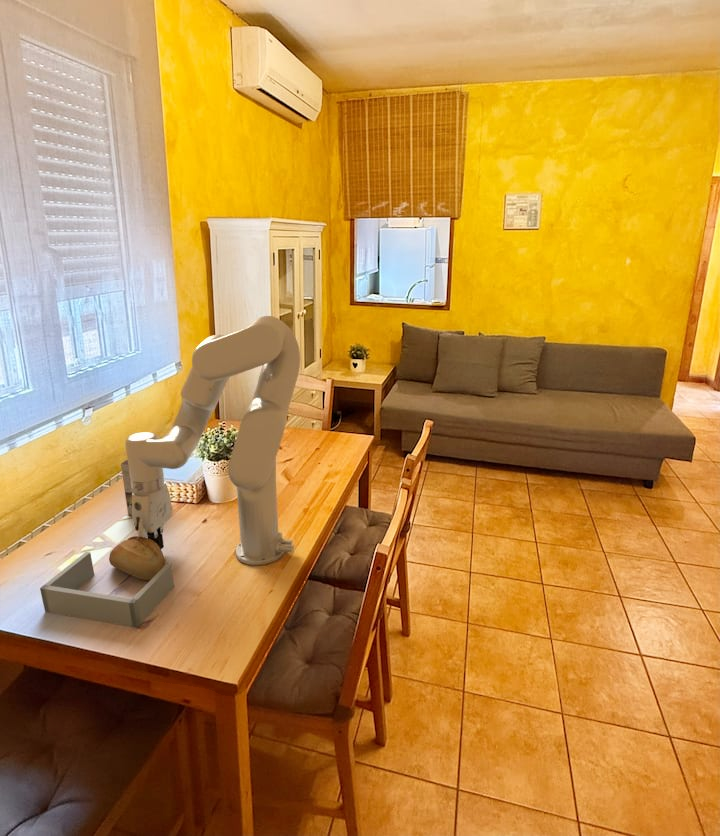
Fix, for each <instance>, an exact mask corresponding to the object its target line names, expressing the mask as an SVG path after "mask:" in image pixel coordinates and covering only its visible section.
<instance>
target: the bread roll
mask: <svg viewBox="0 0 720 836" xmlns="http://www.w3.org/2000/svg"><path fill="white" fill-rule="evenodd" d="M108 562H109V563H110V565H111V566H112V567H113V568H115V569H117V570H119V571H122V572H124V573H126V574H129V575H130V576H132V577H134V578H137V579H139V580H143V581H150V580H151V579H152V578H153V577H154V576H155V575H156V574H157V573H158V572H159V571H160V570H161V569H162V568H163V567H164V566H165V565H166V560H165V556H164V553H163V551H162V549H160V547H159V546H158V544H157V543H155V542H154V541H153V540H151V539H149V538H148V537H145V538H139V537H138V535H135V536H131V537H128V538H127V539H125V540H123V541H120V542H119V544H117V545H116V546H114V547H113V549H112V550H111V551H110V553H109V557H108Z"/></svg>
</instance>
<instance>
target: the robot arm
mask: <svg viewBox="0 0 720 836" xmlns="http://www.w3.org/2000/svg"><path fill="white" fill-rule="evenodd" d="M191 365H192V366H191V368H190V371H189V372H188V375H187V377H186V379H185V381H184V384H183V386H182V388H181V390H180V396H181V404H180V408H179V410H178V413H177V414H176V418H175V419H174V421H173V423H172V426H171V428H170V430H169V431H168V432H167V433H166V434H165V436H163V437H162V438H159V436H158V435H157V434H156V433H154V432H151V431H143V432H142V431H141V432H136V433H133V434H131V435H129V436H128V437H127V438H125V439H126V440H125V450H126V458H127V459H126V460H128V466H129V473H130V480H131V487H132V492H133V493H132V515H131V516H132V522H133V528H134V530H135V531H137V532H138V533H137V534H138V535H137V536H138V537H139V538H145V537H146V538H149V539H151V540H153V541H154V542H155V543H157V544H158V546H159V547H160V549H161V550H162V549H163V548H164V547H165V546H164V544H165V543H164V538H163V533H164V525H165V523H167V521H168V520H170V519H171V517H172V516H173V505H172V500H171V495H170V490H169V487H168V485H167V483H166V481H165V475H164V469H169V470H175V469H176V470H177V469H180V468H182V467H184V466H186V463H188V461H189V459H190V458H191V457H192V454H193V453H194V451H195V449H196V448H197V447H198V445H199V442H200V440H201V438H202V436H203V434H204V432H205V431H206V430H205V429H206V428H207V426H208V422H209V421H210V419H211V416H212V414H213V412H214V411H215V410H216V407H217V405H218V403H219V400H220V398H221V396H222V394H223V391H225V388H226V386H227V383H228V382H229V379H230V377H234V376H237V375H240V374H243V373H245V372H248V371H250V370H253V369H256V368H258V367H261V369H260V372H259V375H258V380H257V384H256V388H255V390H254V392H253V396H252V399H251V401H250V403H249V404H248V407H247V408H246V410H245V412H244V414H243V417H242V419H241V422H240V425H239V428H238V431H237V434H236V438H235V442H234V445H233V448H232V451H231V454H230V458H229V462H228V464H227V466H228V467H227V473H228V477H229V479H230V481H231V483H232V484H233V485H234V486H235V487H236V493H237V495H236V497H237V508H238V511H237V512H238V521H239V524H238V525H239V534H240V535H239V537H240V542H238V544H237V545H236V546H235V549H234V550H235V553H234V554H235V557H236V559H237V560H238V561H239V562H241V563H243V564H246V565H249V566H250V565H251V566H261V565H267V564H271V563H273V562H276V561H278V560H279V559H280V558H282V556H283V555H284V554H285V553H292V554H293V553H294V551H295V550H294V549H295V545H294V544H293V540H291V539H285V538H283V532H279V518H278V502H277V501H278V499H277V497H278V494H277V467H276V466H277V455H278V452H279V449H280V446H281V442H282V439H283V436H284V432H285V428H286V425H287V420H288V418H287V417H288V412H289V408H290V404H291V401H292V398H293V395H294V391H295V389H296V388H295V387H296V383H297V380H298V377H299V373H300V366H301V351H300V347H299V343H298V340H297V338H296V336H295V334H294V332H293V331H292V329H291V328H290V327H289V326H288V325H287V324H286V323H285V322H284V321H283V320H281V319H279V318H278V317H275V316H271V315H265V316H261V317H258V318H257V319H255V320H253V322H251V324H250V325H249V326H248V327H245V328H243V329H240V330H237V331H235V332H232V333H229V334H227V335H223V334H213V335H210V336H208V337H206V338H205V339H203V341H202V342H201V343H199V344H198V345H197V347H196V348H195V349H194V350H193V353H192V357H191Z"/></svg>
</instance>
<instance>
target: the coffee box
mask: <svg viewBox="0 0 720 836" xmlns="http://www.w3.org/2000/svg"><path fill="white" fill-rule="evenodd" d="M120 468H121V475H122V481H123V488H124V495H125V504H126V510H127V515H131V516H132V493H133V492H132V487H131V480H130V473H129V466H128V459H126V460H125V461H124V462H122V463H121V464H120Z"/></svg>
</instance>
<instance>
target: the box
mask: <svg viewBox="0 0 720 836" xmlns="http://www.w3.org/2000/svg"><path fill="white" fill-rule="evenodd" d="M94 575H95V570H94V565H93V560H92V554H91V552H89V551H85V552H84V553H83V554H81V555H80V556H79V557H78V558H76V559H75V560H74V561H72V562H71V563H70V564H68V566H66V567H64V568H63V569H62V570H61V571H60V572H58V573H57V574H56V575H54V576H53V577H52V578H51V579H50V580H48V581H47V582H45V584H43V585H42V586H41V587H39V590H40V595H41V600H42V604H43V609H44V612H45V613H50V614H57V615H62V616H68V617H75V618H80V619H85V620H89V621H90V620H92V621H97V622H103V623H108V624H109V623H110V624H114V625H120V626H125V627H126V626H127V627H130V628H132V627H133V628H139V627H140V626H141V624H143V622H145V620H146V619H148V617H149V616H150V614H152V613H153V611H154V610H155V609H156V608H157V606H158V605H159V604H161V602H162V601H163V600H164V599H165V598H166V597H167V596H168V594H170V592H171V591H172V590H173V589H174V587H175V582H174V580H175V579H174V572H173V566H172V563H165V566H164V567H163V568H162V569H161V570H160V571H159V572H158V573H157V574H156V575H155V576H154V577H153V578H152V579H151V580H148V582H147V583H146V584H145V585H144V586H143V587H142V588H141V589H140V590H139V591H138V592H137V593H136V594H135V596H134V597H132V598H129V597H128V598H127V597H124V596H123V597H121V596H116V595H111V594H110V595H109V594H104V593H103V594H102V593H97V592H90V591H84V590H78V589H79V588H80V587H81V586H83V585H84V584H85V583H86V582H87V581H89V579H91V578H92V577H93V576H94Z"/></svg>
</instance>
